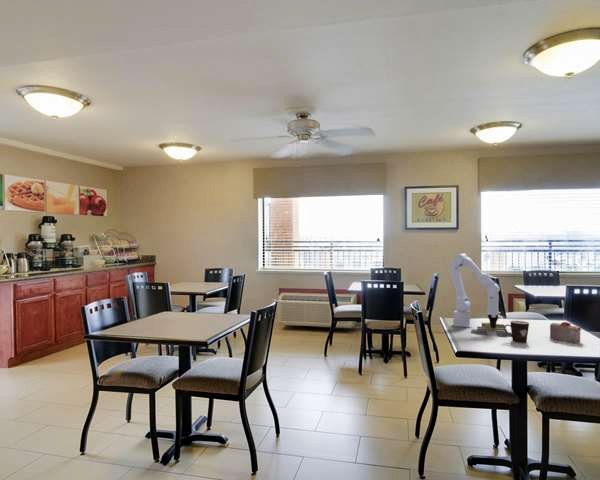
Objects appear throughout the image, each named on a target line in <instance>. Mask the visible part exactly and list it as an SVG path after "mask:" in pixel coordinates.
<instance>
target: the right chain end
mask: <svg viewBox="0 0 600 480" xmlns="http://www.w3.org/2000/svg"><path fill="white" fill-rule="evenodd" d="M505 329H506V331H507V332H508V333H510V334H512V332H510V331H508V330H507V328H505ZM506 331H505V330H504V329H503V328H497V331H495V332H496V336H497V337H499V336H500V337H512V336H511V335H510V334H508V333H507V332H506Z"/></svg>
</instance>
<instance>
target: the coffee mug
mask: <svg viewBox="0 0 600 480" xmlns="http://www.w3.org/2000/svg"><path fill="white" fill-rule="evenodd" d="M509 322H510V324H508V323H507V324H504V325H505V326H504V330H505V331H506V329H507V328H506V327H508V326H509V327H510V329H511V330H510V331H511V332H512V334H510V333H508V332H509V331H508V330H507V331H506V332H507V333H508V334H510V335H511V336H510V337H511V340H512V342H515V343H518V344H525V343H527V341H528V340H527V339H528V333H529V327H530V323H529V322H528V321H525V320H510V321H509Z"/></svg>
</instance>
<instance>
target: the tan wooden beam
mask: <svg viewBox="0 0 600 480" xmlns="http://www.w3.org/2000/svg"><path fill="white" fill-rule="evenodd" d="M505 325H506V324H505V323H498V322H496V327H495V328H491V326H490V322H483V321H482V322H481V327H487V331H494V332H496V331H497V328H503V329H504V326H505Z"/></svg>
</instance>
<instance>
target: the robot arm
mask: <svg viewBox="0 0 600 480" xmlns="http://www.w3.org/2000/svg"><path fill="white" fill-rule="evenodd" d="M463 266H465V267H468V268H469V269H470V270H471V272H473V274H475V275H476V276H477V280H478V281H479V282H480V284H481V285H482V286H483V287H484V288H485V289H486V292H487V311H486V312H487V318H488V320H489V323H490V326H491V328H495V327H496V323H498V319H499V318H500V317H499V315H500V314H502V313H501V311H499V307H500V306H499V303H500V302H499V292H500V289H501V287H500V285H499V284H498V283H496V281H494V280H493V279H492V278H491V277H490V274H487V273H484V272H482V270H481V269H480V268H479V267H478V266H477V265H476V263H475V262H474V261H473V260H472V258H471V257H469V256H468V254H466V253H456V254H455V255H453V256H452V258H451V263H450V267H449V270H450V274H451V278H452V281H453V286H454V290H455V294H456V301H455V302H456V304H455V308H456V310H454V311H453V321H452V323H453V327H463V328H471V326H472V325H471V310H470V309H471V308H472V302H471V301H470V300H469V296H468V295H467V294H466V290H465V286H464V283H463V278H462V273H461V271H460V270H461V268H462V267H463Z"/></svg>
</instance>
